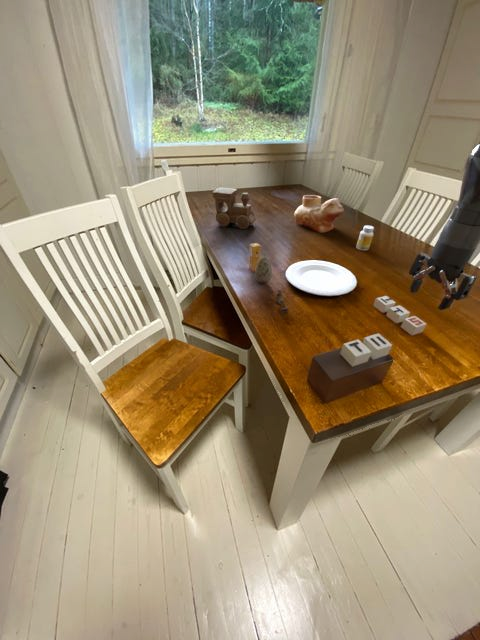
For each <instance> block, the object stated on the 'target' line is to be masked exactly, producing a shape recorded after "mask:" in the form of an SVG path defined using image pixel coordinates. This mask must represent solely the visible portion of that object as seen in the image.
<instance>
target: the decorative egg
mask: <svg viewBox="0 0 480 640" xmlns="http://www.w3.org/2000/svg"><path fill="white" fill-rule="evenodd" d="M272 276H273V266H272V262H271V260H270V259H269V257H267V256H262V257H260V260H259V261H258V263H257V266H256V269H255V271H254V277H255V279H256V281H257V282H258V283H259V284H267V283H269V282H270V280H271V279H272Z"/></svg>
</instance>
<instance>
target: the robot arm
mask: <svg viewBox="0 0 480 640" xmlns="http://www.w3.org/2000/svg"><path fill="white" fill-rule="evenodd" d="M466 159H467V160H466V161H465V165H464V170H463V174H462V180H461V185H460V192H459V196H458V200H457V202H456V204H455V205H454V208H453V210H452V212H451V214H450V216H449V218H448V220H447V221H446V223H445V225H444V226H443V227H442V230H441V232H440V233H439V236H438V238H437V240H436V243H435V244H434V247H433V248H432V251H431V253H430V256H429V253H428V252H423V253H419V254H417V255H416V257H415V259H414V261H413V263H412V264H411V266H410V269H409V271H408V274H409V275H410V276H412V277H413V280H412V282H411V284H410V287H409V292H410V293H411V294H415V293H418V291H419V290H420V288H421V286H422V284H423V282H424V279H425V278H426V277H428V278H429V279H431V280H433V281H436V282H437V283H439V284H441V286H442V290H444V294H445V296H444V297H443V298H442V299H441V301H440V304H439V305H438V307H437V309H438V310H439V311H443V310H447V309H449V308H451V306H452V304H453V302H454V300H455V301H460V300H465V299H466V298H467V297H468V296H469V293H470V291H471V289H472V288H473V286H474V284H475V282H476V280H477V279H478V278H477V275H475V274H472V275H470V274H468V273H465V272H464V271H465V268H466V266H467V265H468V264H469V262H470V260H471V259H472V257H473V255H474V253H475V251H476V249H477V248H478V246H479V244H480V141H479V142H478V143H477V144H476V145H475V146H474V147H473V148H472V150H471V151H470V153H469V154H468V157H467V158H466ZM425 263H426V269H424V270H422V268H423V266H424V265H425ZM421 270H422V271H421ZM458 279H460V280H459V283H460V284H459V283H458Z"/></svg>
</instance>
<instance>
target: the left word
mask: <svg viewBox="0 0 480 640" xmlns="http://www.w3.org/2000/svg"><path fill="white" fill-rule="evenodd" d="M362 341H363V342H362ZM362 341H361V340H360V339H355V340H352V341H348V342H345V343H343V344H342V347H341V348H342V350H341V353H340V354H341V355H342V356H343V357H344V358H345V360H346V361H347V362H348V363H349V364H350V365H351V366H352V367H353V366H356V365H359V364H362V363H365V362H367V361H368V359H369V357H371V358H372V359H373V360H374V359H377V358H380V357H383V356H386V355H388V354H389V353H390V351H391V349H392V347H393V344H392V343H391V342H390V341H388V340H387V339H386V338H385V337H384V336H383V335H382V334H380V333H379V332H378V333H375V334H372V335H368V336H365V337H364V338H363V340H362Z"/></svg>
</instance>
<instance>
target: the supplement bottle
mask: <svg viewBox="0 0 480 640" xmlns="http://www.w3.org/2000/svg"><path fill="white" fill-rule="evenodd" d="M374 230H375V226H372V225H370V224H369V225H368V224H367V225H364V226H363V229H362V230H361V231H360V232H359V237H358V238H357V242H356V245H355V247H356V249H357V250H359V251H364V252H365V251H368V250H369V249H370V247H371V243H372V240H373V238H374Z"/></svg>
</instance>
